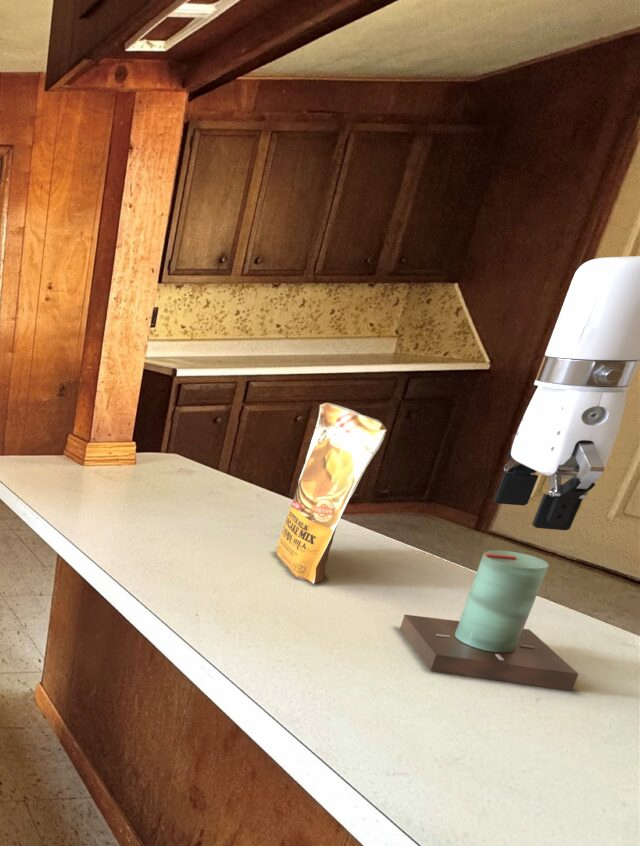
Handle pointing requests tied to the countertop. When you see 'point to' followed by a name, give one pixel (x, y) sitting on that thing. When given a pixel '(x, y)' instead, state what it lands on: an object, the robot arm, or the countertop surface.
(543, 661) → the dark brown slab
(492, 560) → the mint green cylinder
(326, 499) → the pancake mix bag
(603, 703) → the countertop surface
